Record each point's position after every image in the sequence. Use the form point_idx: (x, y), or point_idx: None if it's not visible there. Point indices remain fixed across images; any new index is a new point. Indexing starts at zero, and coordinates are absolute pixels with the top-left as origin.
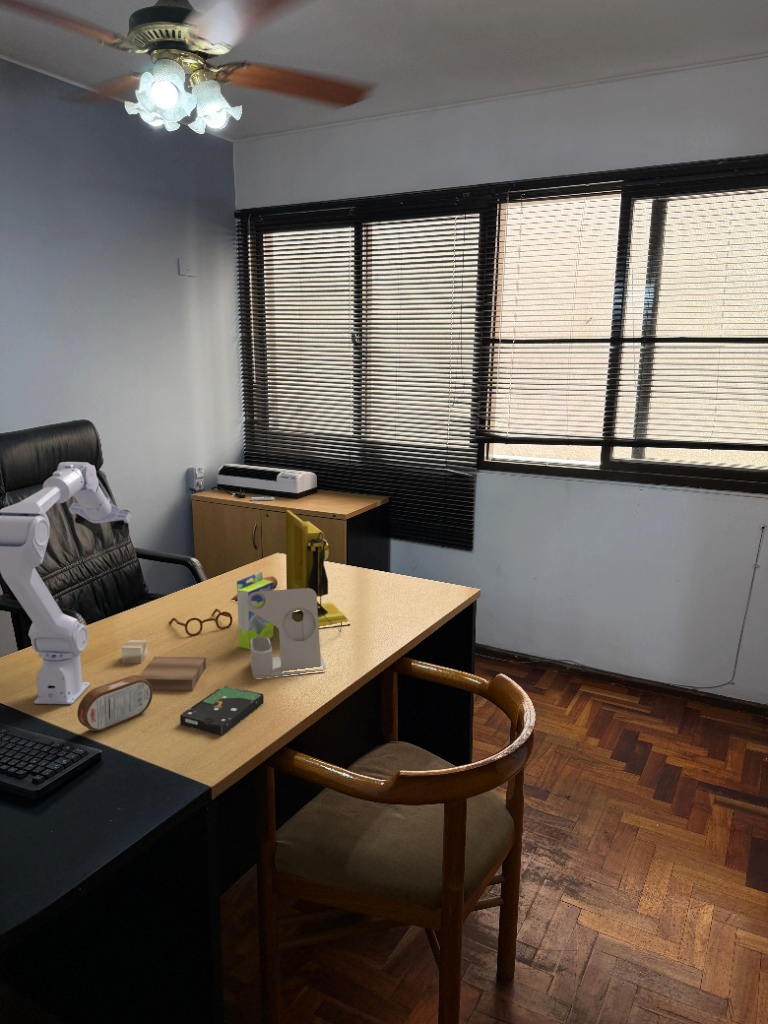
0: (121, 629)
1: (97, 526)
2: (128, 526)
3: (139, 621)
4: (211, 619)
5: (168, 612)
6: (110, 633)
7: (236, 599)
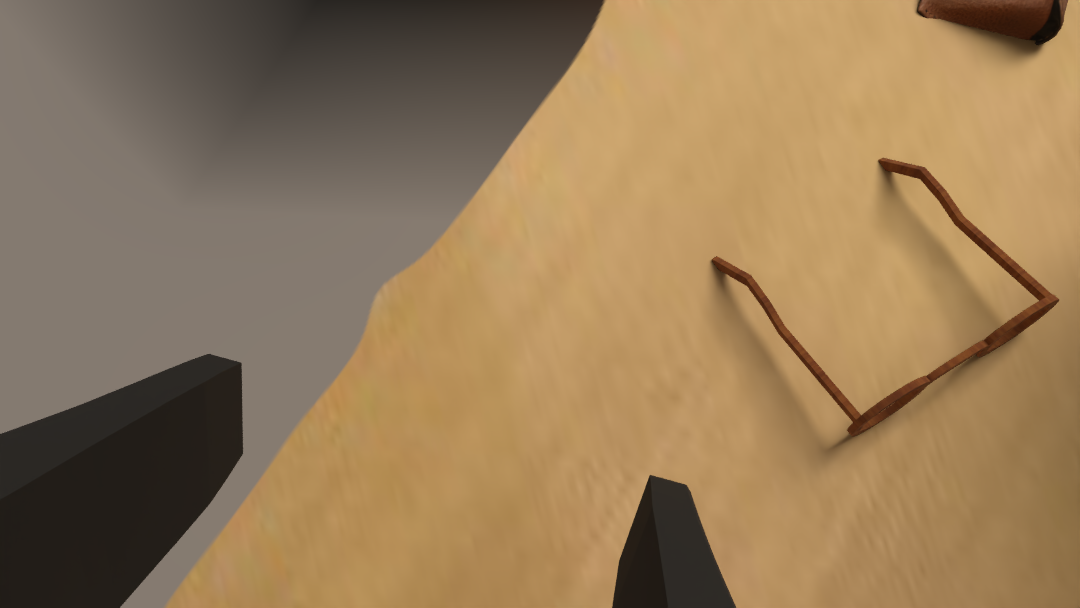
0: (526, 335)
1: (194, 443)
2: (719, 578)
3: (578, 246)
4: (971, 355)
5: (676, 145)
6: (491, 380)
7: (951, 9)
